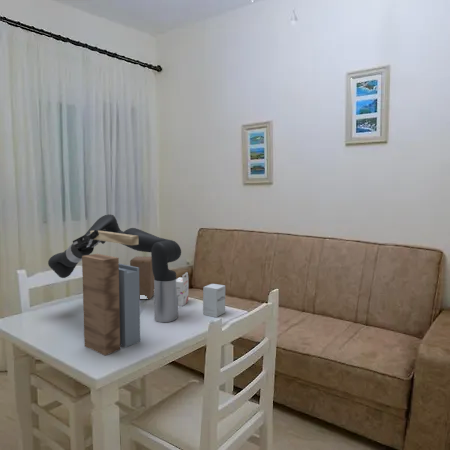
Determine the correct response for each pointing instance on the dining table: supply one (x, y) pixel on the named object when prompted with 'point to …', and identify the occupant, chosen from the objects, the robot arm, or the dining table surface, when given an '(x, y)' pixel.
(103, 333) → the walnut tower
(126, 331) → the grey post
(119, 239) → the bar
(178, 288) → the ink cartridge box
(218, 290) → the supplement box
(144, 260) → the wooden block
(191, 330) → the dining table surface
